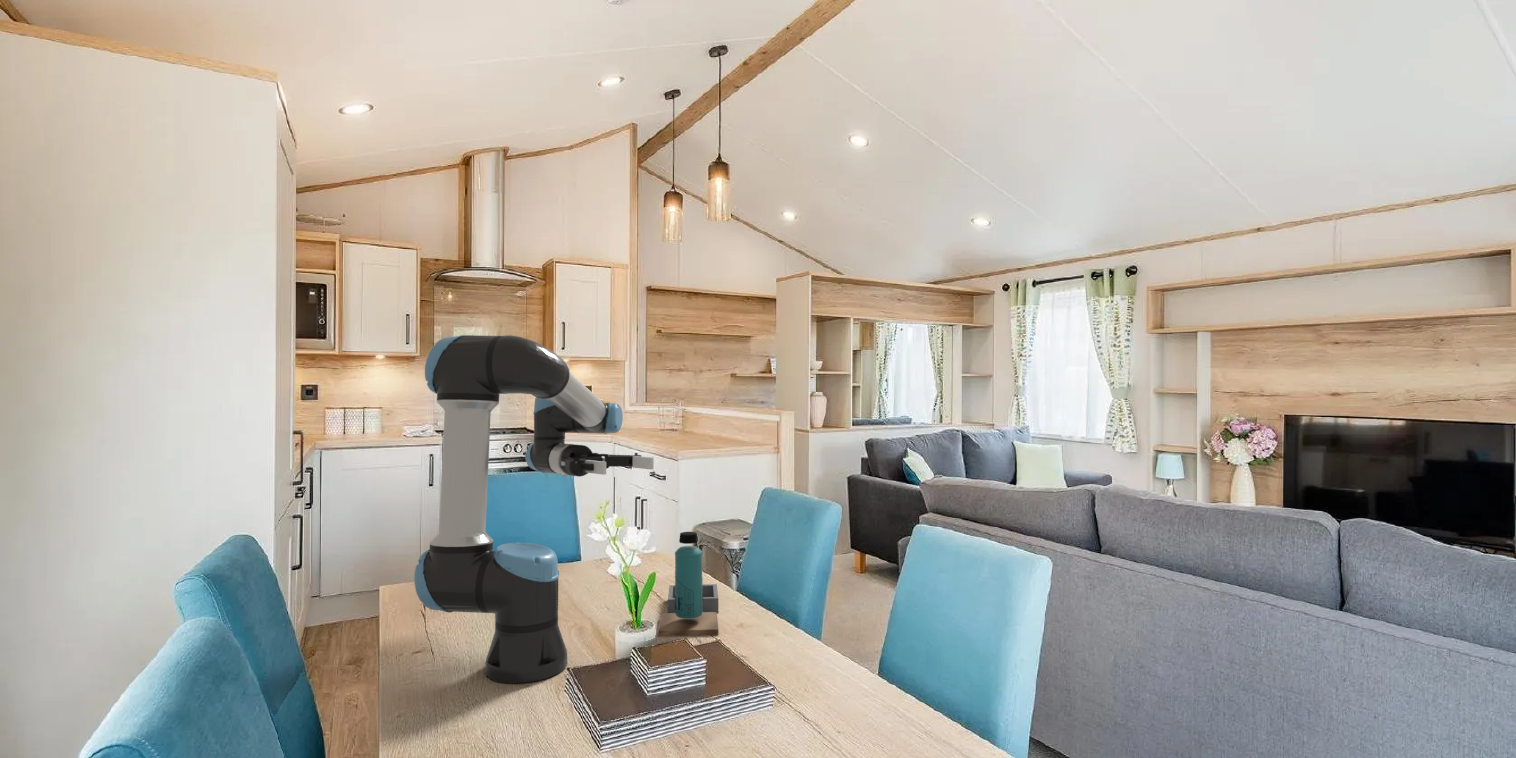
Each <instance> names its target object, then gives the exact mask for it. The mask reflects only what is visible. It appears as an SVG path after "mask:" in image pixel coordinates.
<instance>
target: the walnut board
mask: <svg viewBox="0 0 1516 758" xmlns="http://www.w3.org/2000/svg"><path fill="white" fill-rule="evenodd" d="M659 617H660V618H659V623H658V624H659V625H658V634H657V635H658V637H660V638H661V637H664V638H665V637H687V636H688V637H690V636H693V637H694V636H718V635H719V622H718V621H719V620H718V613H717V612H702V615H701V616H700V617H697V618H689V619H687V618H680V617H677V616H676V613H668V612H666V613H665V612H664V613H663V612H662V613H660V616H659Z"/></svg>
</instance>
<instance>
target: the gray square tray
mask: <svg viewBox="0 0 1516 758" xmlns="http://www.w3.org/2000/svg"><path fill="white" fill-rule="evenodd" d="M702 585H703V612H717V614H719V592H718V584H717V583H712V584H711V583H709V584H706V583H705V584H704V583H702ZM667 595H668V596H667V613H675V584H672V585H671V584H670V585H669V588H668V594H667Z"/></svg>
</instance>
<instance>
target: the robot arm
mask: <svg viewBox="0 0 1516 758" xmlns="http://www.w3.org/2000/svg"><path fill="white" fill-rule="evenodd" d="M424 379H425V381H426V382H427V383H426V386H427V387H428V389H429V390H430V392H432V393H434V394H435V395H436V403H437V404H438V405H439V406H440V407H441V408H442V409H443V411H444V417H443V434H442V435H443V437H442V438H443V439H442V441H443V442H442V457H441V459H442V460H441V476H440V477H441V479H440V480H441V481H440V499H439V519H438V521H439V523H438V532H437V535H436V536H434V538H433V539H431V541H430V542H429V549H427V550H425V551H424V552H423V553H422V554H421V555H420V556H419V558H418V560H417V562H418V563H417V564H416V565H415V569H414V576H413V577H414V579H413V581H414V588H415V592H416V596H417V597H418V599H419V601H420V602H421V603H422V604H423V605H424V607H425V608H427V609H429V610H433V611H441V612H444V613H453V612H455V613H480V614H481V613H482V614H494V619H495V620H494V622H495V623H494V633H493V637H492V640H491V643H490V646H489V649H488V652H487V655H486V658H485V672H484V674H485V676H486V675H487V676H488V677H489V678H488V677H487V676H486V677H487V678H488V679H489V680H492V681H495V682H498V683H505V684H525V683H533V682H537V681H542V680H545V679H549V678H551V677H553V676H556V675H558V674H560V673H561V672H563V671H565V669H566V667H567V666H568V651H567V647H566V644H565V641H564V638H563V635H562V632H561V630H560V626H559V577H560V571H559V565H558V563H559V561H558V556H557V554H556V552H555V551H554V550H553V549H552V548H550V547H549V546H546V545H542V544H538V543H533V542H509V543H508V542H507V543H503V544H501V545H498V546H497V547H496V548H495V550H494V539H493V538H492V537H491V536H490V535H489V534H488V533H487V531H486V529H487V509H488V508H487V507H488V486H489V484H488V483H489V459H490V436H491V435H490V434H491V415H492V411H493V410H494V409H495V408H496V407H497V406H498V405H499V404H500V394H501V395H505V394H506V395H509V394H511V395H512V394H523V395H526V394H527V395H532V396H533V397H534V405H533V406H534V408H533V414H532V415H533V442H532V443H531V444H530V445H529V446H528V447H527V450H526V452H525V454H524V455H525V456H524V457H525V462H526V465H528V467H529V468H530V469H532V470H534V471H537V472H541V473H543V474H545V473H547V474H557V475H562V477H564V478H567V477H568V476H572V477H583V476H584V477H585V476H586V475H587V474H596V475H607V469H609V468H610V467H621V468H622V467H624V468H625V467H632V468H633V469H643V470H644V469H645V470H654V460H655V459H654V457H653V456H652V457H651V456H642V455H641V454H638V452H634V455H633V454H631V455H630V454H609V453H599V452H593V451H592V449H591V448H590V447H588V446H587V445H583V444H574V443H566V442H565V441H566V434H569V433H570V434H604V435H607V434H616V433H619V432H620V430H621V428H622V426H623V421H624V420H623V419H624V418H623V415H624V414H623V409H622V407H621V405H620V404H619V403H616V402H604V401H602V400H601V399H600V398H599V397H598V396H596V394H594V392H592V391H591V390H590V389H588V387H587V386H585V385H584V384H583V382H581V381H580V380H579V379H578V378H577V377H575V376H574V374H572V373H571V372H570V368H569V365H568V363H567V362H566V361H565V360H564V359H563V358H562V357H560V356H559V355H558V354H557V353H555V352H554V351H552V350H551V349H549V348H547V347H546V346H544V345H542V344H540V343H538V342H536V341H534V340H531V339H528V338H525V337H523V336H517V335H511V334H509V335H477V334H475V335H463V334H461V335H456V336H446V337H443V338H440V339H439V340H438V341H437V342H435V344H434V345H433V346H432V347H431V348H430V350H429V352H428V355H427V357H426V360H425V365H424Z"/></svg>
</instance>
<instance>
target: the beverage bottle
mask: <svg viewBox="0 0 1516 758" xmlns="http://www.w3.org/2000/svg"><path fill="white" fill-rule="evenodd" d="M698 541H699V540H698V533H697V532H695V531H683V532H680V533H679V541H678V542H679V543H680V544H684V546H679V548H678V549H676V550H675V551H674V557H675V558H674V560H675V562H674V563H675V567H674V568H675V570H674V579H675V580H674V582H675V583H674V585H675V613H676V616H677V617H680V618H687V619H689V618H697V617H700V616H701V615H702V612H703V551H702V550H701V549H700V548H699V547H698V546H695V545H691V544H696V543H698ZM685 544H689V545H685Z"/></svg>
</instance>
